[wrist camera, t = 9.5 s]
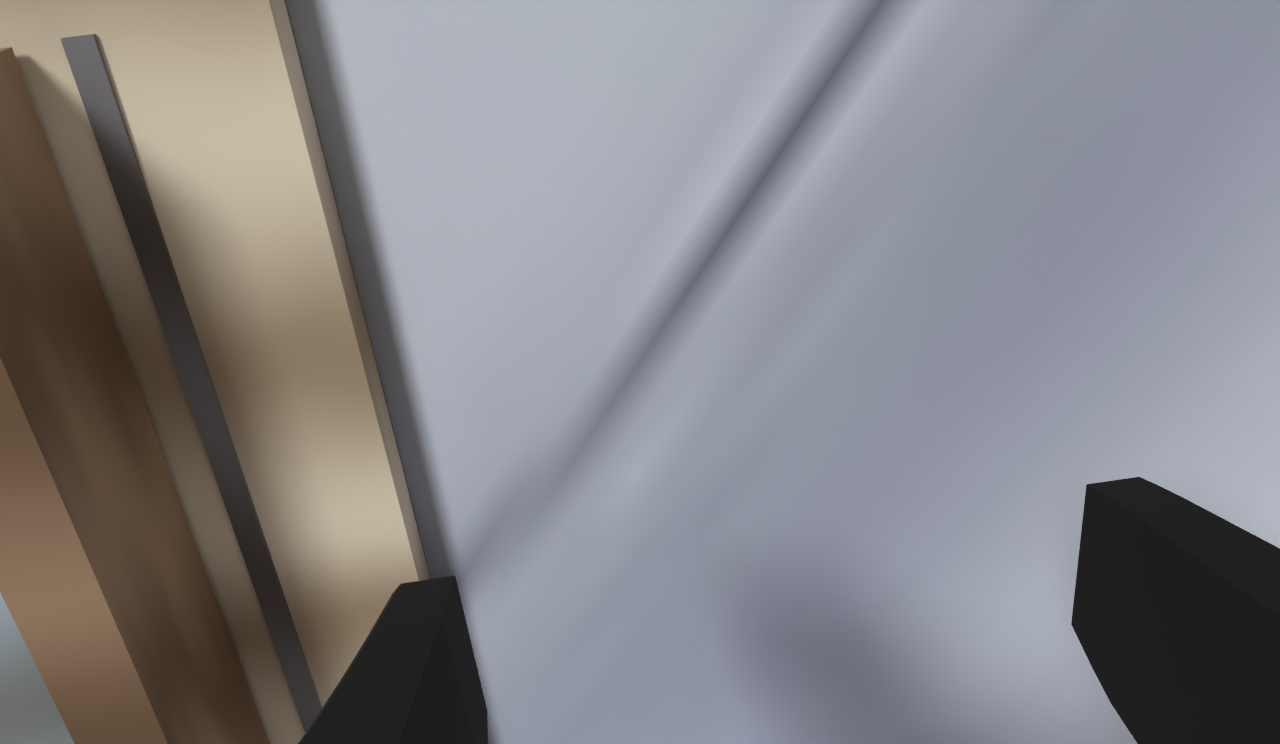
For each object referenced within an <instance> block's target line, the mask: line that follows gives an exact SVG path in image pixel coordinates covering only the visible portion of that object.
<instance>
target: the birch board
mask: <svg viewBox="0 0 1280 744" xmlns="http://www.w3.org/2000/svg"><path fill="white" fill-rule="evenodd" d="M9 47H12V49H13V52H14V54H15V57H16V60H17V62H18V65H19V68H20V71H21V73H22V76H23V79H24V81H25V84H26V87H27V89H28V92H29V95H30V98H31V100H32V103H33V106H34V108H35V111H36V114H37V116H38V119H39V122H40V124H41V127H42V130H43V133H44V135H45V138H46V141H47V143H48V146H49V149H50V151H51V154H52V157H53V160H54V162H55V165H56V168H57V170H58V173H59V176H60V178H61V181H62V184H63V187H64V189H65V192H66V195H67V197H68V200H69V203H70V205H71V208H72V211H73V213H74V216H75V219H76V222H77V224H78V227H79V230H80V232H81V235H82V238H83V240H84V243H85V246H86V249H87V251H88V254H89V257H90V259H91V262H92V265H93V267H94V270H95V273H96V275H97V278H98V281H99V284H100V286H101V289H102V292H103V294H104V297H105V300H106V302H107V305H108V308H109V311H110V313H111V316H112V319H113V321H114V324H115V327H116V329H117V332H118V335H119V337H120V340H121V343H122V346H123V348H124V351H125V354H126V356H127V359H128V362H129V364H130V367H131V370H132V373H133V375H134V378H135V381H136V383H137V386H138V389H139V391H140V394H141V397H142V400H143V402H144V405H145V408H146V410H147V413H148V416H149V418H150V421H151V424H152V426H153V429H154V432H155V435H156V437H157V440H158V443H159V445H160V448H161V451H162V453H163V456H164V459H165V462H166V464H167V467H168V470H169V472H170V475H171V478H172V480H173V483H174V486H175V488H176V491H177V494H178V497H179V499H180V502H181V505H182V507H183V510H184V513H185V515H186V518H187V521H188V524H189V526H190V529H191V532H192V534H193V537H194V540H195V542H196V545H197V548H198V551H199V553H200V556H201V559H202V561H203V564H204V567H205V569H206V572H207V575H208V577H209V580H210V583H211V586H212V588H213V591H214V594H215V596H216V599H217V602H218V604H219V607H220V610H221V613H222V615H223V618H224V621H225V623H226V626H227V629H228V631H229V634H230V637H231V639H232V642H233V645H234V648H235V650H236V653H237V656H238V658H239V661H240V664H241V666H242V669H243V672H244V675H245V677H246V680H247V683H248V685H249V688H250V691H251V693H252V696H253V699H254V701H255V704H256V707H257V710H258V712H259V715H260V718H261V720H262V723H263V726H264V728H265V731H266V734H267V737H268V739H269V742H270V744H298V743H299V741H300V740H301V739H302V737H303V736H304V734H305V733H306V731H307V730H308V729H309V727H310V726H311V724H312V723H313V721H314V720H315V718H316V717H317V715H318V714H319V712H320V710H321V709H322V707H323V706H324V704H325V703H326V701H327V700H328V698H329V697H330V695H331V694H332V692H333V691H334V689H335V688H336V686H337V685H338V683H339V682H340V680H341V679H342V677H343V675H344V674H345V672H346V671H347V669H348V667H349V666H350V664H351V663H352V661H353V659H354V658H355V656H356V654H357V653H358V651H359V650H360V648H361V646H362V645H363V643H364V641H365V640H366V638H367V636H368V635H369V633H370V631H371V630H372V628H373V626H374V624H375V623H376V621H377V619H378V618H379V616H380V614H381V612H382V611H383V609H384V607H385V606H386V604H387V602H388V600H389V599H390V597H391V595H392V593H393V592H394V591H395V590H396V589H397V587H398V586H399V585H400V584H401V583H408V582H415V581H422V580H429V579H430V576H429V572H428V568H427V564H426V560H425V556H424V552H423V548H422V544H421V540H420V536H419V532H418V528H417V524H416V520H415V516H414V512H413V508H412V504H411V500H410V496H409V492H408V488H407V485H406V481H405V477H404V473H403V469H402V465H401V461H400V457H399V453H398V449H397V445H396V441H395V437H394V433H393V429H392V425H391V421H390V417H389V413H388V409H387V405H386V401H385V397H384V393H383V389H382V385H381V381H380V378H379V374H378V370H377V366H376V362H375V358H374V354H373V350H372V346H371V342H370V338H369V334H368V330H367V326H366V322H365V318H364V314H363V310H362V306H361V302H360V298H359V294H358V290H357V286H356V282H355V278H354V274H353V270H352V267H351V263H350V259H349V255H348V251H347V247H346V243H345V239H344V235H343V231H342V227H341V223H340V219H339V215H338V211H337V207H336V203H335V199H334V195H333V191H332V187H331V183H330V179H329V175H328V171H327V167H326V163H325V160H324V156H323V152H322V148H321V144H320V140H319V136H318V132H317V128H316V124H315V120H314V116H313V112H312V108H311V104H310V100H309V96H308V92H307V88H306V84H305V80H304V76H303V72H302V68H301V64H300V60H299V56H298V52H297V49H296V45H295V41H294V37H293V33H292V29H291V25H290V21H289V17H288V13H287V9H286V5H285V1H284V0H0V49H1V48H9Z"/></svg>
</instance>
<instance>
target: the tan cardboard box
mask: <svg viewBox="0 0 1280 744" xmlns="http://www.w3.org/2000/svg"><path fill="white" fill-rule="evenodd" d="M0 744H270V742H269V739H268V737H267V734H266V731H265V728H264V726H263V723H262V720H261V718H260V715H259V712H258V710H257V707H256V704H255V701H254V699H253V696H252V693H251V691H250V688H249V685H248V683H247V680H246V677H245V675H244V672H243V669H242V666H241V664H240V661H239V658H238V656H237V653H236V650H235V648H234V645H233V642H232V639H231V637H230V634H229V631H228V629H227V626H226V623H225V621H224V618H223V615H222V613H221V610H220V607H219V604H218V602H217V599H216V596H215V594H214V591H213V588H212V586H211V583H210V580H209V577H208V575H207V572H206V569H205V567H204V564H203V561H202V559H201V556H200V553H199V551H198V548H197V545H196V542H195V540H194V537H193V534H192V532H191V529H190V526H189V524H188V521H187V518H186V515H185V513H184V510H183V507H182V505H181V502H180V499H179V497H178V494H177V491H176V488H175V486H174V483H173V480H172V478H171V475H170V472H169V470H168V467H167V464H166V462H165V459H164V456H163V453H162V451H161V448H160V445H159V443H158V440H157V437H156V435H155V432H154V429H153V426H152V424H151V421H150V418H149V416H148V413H147V410H146V408H145V405H144V402H143V400H142V397H141V394H140V391H139V389H138V386H137V383H136V381H135V378H134V375H133V373H132V370H131V367H130V364H129V362H128V359H127V356H126V354H125V351H124V348H123V346H122V343H121V340H120V337H119V335H118V332H117V329H116V327H115V324H114V321H113V319H112V316H111V313H110V311H109V308H108V305H107V302H106V300H105V297H104V294H103V292H102V289H101V286H100V284H99V281H98V278H97V275H96V273H95V270H94V267H93V265H92V262H91V259H90V257H89V254H88V251H87V249H86V246H85V243H84V240H83V238H82V235H81V232H80V230H79V227H78V224H77V222H76V219H75V216H74V213H73V211H72V208H71V205H70V203H69V200H68V197H67V195H66V192H65V189H64V187H63V184H62V181H61V178H60V176H59V173H58V170H57V168H56V165H55V162H54V160H53V157H52V154H51V151H50V149H49V146H48V143H47V141H46V138H45V135H44V133H43V130H42V127H41V124H40V122H39V119H38V116H37V114H36V111H35V108H34V106H33V103H32V100H31V98H30V95H29V92H28V89H27V87H26V84H25V81H24V79H23V76H22V73H21V71H20V68H19V65H18V62H17V60H16V57H15V54H14V52H13V49H12V47H9V48H1V49H0Z"/></svg>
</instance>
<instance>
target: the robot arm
mask: <svg viewBox="0 0 1280 744" xmlns="http://www.w3.org/2000/svg"><path fill="white" fill-rule="evenodd" d="M1072 626H1073V628H1074V630H1075V632H1076V635H1077V637H1078V639H1079V641H1080V643H1081V645H1082V647H1083V649H1084V651H1085V653H1086V655H1087V657H1088V659H1089V662H1090V664H1091V666H1092V668H1093V670H1094V672H1095V673H1096V675H1097V677H1098V679H1099V681H1100V683H1101V685H1102V687H1103V689H1104V691H1105V693H1106V695H1107V696H1108V698H1109V700H1110V702H1111V704H1112V705H1113V707H1114V708H1115V710H1116V711H1117V713H1118V715H1119V716H1120V718H1121V719H1122V721H1123V722H1124V724H1125V725H1126V727H1127V728H1128V730H1129V731H1130V733H1131V734H1132V736H1133V737H1134V739H1135V740H1136V742H1137V743H1138V744H1280V549H1279V548H1278V547H1276V546H1274V545H1272V544H1270V543H1268V542H1266V541H1264V540H1262V539H1260V538H1258V537H1256V536H1255V535H1253V534H1251V533H1249V532H1247V531H1245V530H1243V529H1241V528H1239V527H1238V526H1236V525H1234V524H1232V523H1230V522H1228V521H1226V520H1224V519H1222V518H1221V517H1219V516H1217V515H1215V514H1213V513H1211V512H1209V511H1207V510H1205V509H1203V508H1201V507H1200V506H1198V505H1196V504H1194V503H1192V502H1190V501H1188V500H1186V499H1184V498H1182V497H1180V496H1178V495H1176V494H1174V493H1172V492H1170V491H1168V490H1166V489H1164V488H1162V487H1160V486H1158V485H1156V484H1154V483H1151V482H1149V481H1147V480H1145V479H1143V478H1140V477H1135V478H1129V479H1122V480H1115V481H1108V482H1101V483H1094V484H1087V486H1086V495H1085V504H1084V514H1083V523H1082V532H1081V541H1080V550H1079V560H1078V569H1077V578H1076V587H1075V596H1074V606H1073V615H1072ZM298 744H488V730H487V708H486V704H485V700H484V696H483V691H482V687H481V683H480V679H479V675H478V670H477V666H476V662H475V658H474V654H473V649H472V645H471V641H470V637H469V633H468V628H467V624H466V620H465V616H464V612H463V607H462V603H461V599H460V595H459V591H458V586H457V582H456V578H455V576H450V577H443V578H436V579H429V580H422V581H415V582H408V583H401V584H400V585H399V586H398V587H397V589H396V590H395V591H394V592H393V593H392V595H391V597H390V599H389V600H388V602H387V604H386V606H385V607H384V609H383V611H382V612H381V614H380V616H379V618H378V619H377V621H376V623H375V624H374V626H373V628H372V630H371V631H370V633H369V635H368V636H367V638H366V640H365V641H364V643H363V645H362V646H361V648H360V650H359V651H358V653H357V654H356V656H355V658H354V659H353V661H352V663H351V664H350V666H349V667H348V669H347V671H346V672H345V674H344V675H343V677H342V679H341V680H340V682H339V683H338V685H337V686H336V688H335V689H334V691H333V692H332V694H331V695H330V697H329V698H328V700H327V701H326V703H325V704H324V706H323V707H322V709H321V710H320V712H319V714H318V715H317V717H316V718H315V720H314V721H313V723H312V724H311V726H310V727H309V729H308V730H307V731H306V733H305V734H304V736H303V737H302V739H301V740H300V741H299V743H298Z"/></svg>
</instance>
